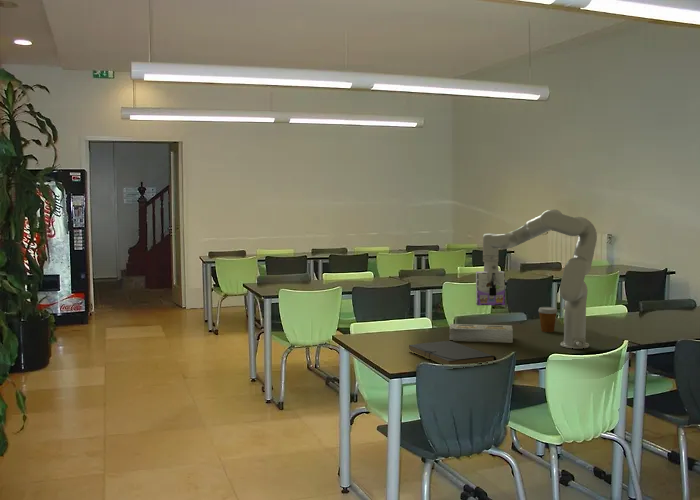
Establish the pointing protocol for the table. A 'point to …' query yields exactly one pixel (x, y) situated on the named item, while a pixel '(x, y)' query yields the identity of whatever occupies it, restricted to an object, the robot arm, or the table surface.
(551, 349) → the table surface
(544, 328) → the disposable coffee cup
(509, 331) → the label stand
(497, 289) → the candy box
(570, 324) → the robot arm
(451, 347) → the file folder
